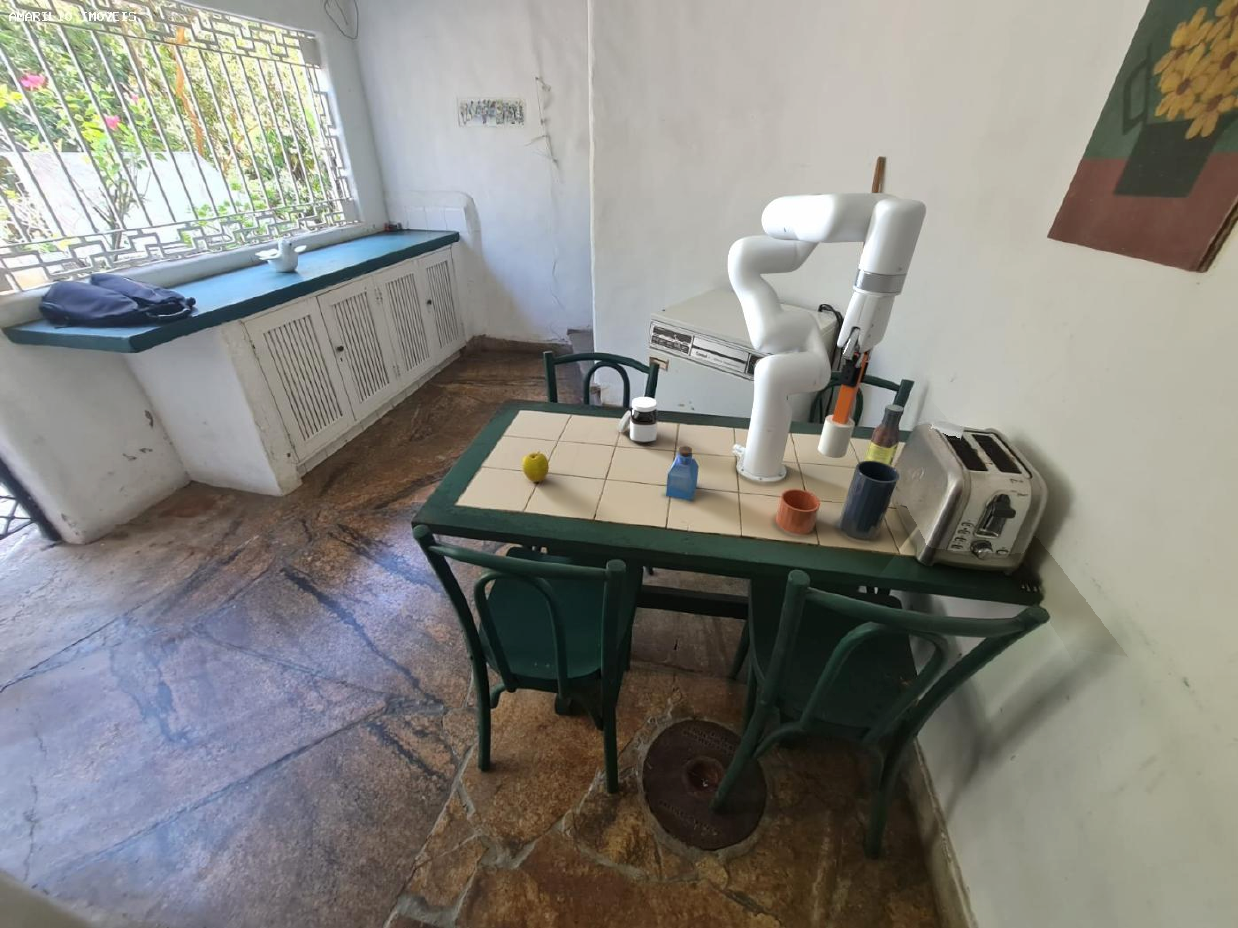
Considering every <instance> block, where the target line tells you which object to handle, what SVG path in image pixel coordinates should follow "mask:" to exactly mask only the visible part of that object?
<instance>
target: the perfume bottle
mask: <svg viewBox="0 0 1238 928" xmlns="http://www.w3.org/2000/svg"><path fill="white" fill-rule="evenodd" d="M699 468H700V465H699V464H698V462H697V460H696V459H695V458H693V448H692V447H690V446H687V445H682V446H679V448H678V452H677V456H676V458H675V459H674V461H673V463H672V464H671V467H670V468H669V471H668V473H667V477H666V490H665V496H666V497H669V498H675V499H679V500H684V501H689V502H691V501H692V500H693V497H694V495H695V492H696V490H697V485H698V478H699V477H698V476H699V470H700V469H699Z"/></svg>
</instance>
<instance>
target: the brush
mask: <svg viewBox="0 0 1238 928" xmlns="http://www.w3.org/2000/svg"><path fill="white" fill-rule="evenodd" d="M854 354H855V355H857V358H858V355H859V354H857V353H854ZM867 357H868V355H865V354H864V356H863V359H862V362H861V365H860V367H862V369H861V373H860V376H859V380H858V383H857V386H856V387H855V388H852V387H849V386H845V385H842V384H840V385H841V386H840V389H839V394H838V397H837V400H836V403H835V408H834V411H833V414H829V415H827V416H826V417H825V420H824V424H823V427H822V432H821V435H820V438H819V443H818V446H817V450H818V452H819V453H820V454H821V455H823V456H825V457H828V458H833V459H840V458H843V457H845V456H846V455H847V451H848V448H849V446H850V441H851V438H852V435H853V432H854V428H855V425H856V422H855V420H853V419H852V418H851V414H852V411H853V407H854V405H855V401H856V397H857V394H858V391H859V387H860V385H861V383H860V381H861V377H862V374H863V370H864V367H865V364H866V362H867V361H866V360H867Z"/></svg>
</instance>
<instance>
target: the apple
mask: <svg viewBox="0 0 1238 928" xmlns="http://www.w3.org/2000/svg"><path fill="white" fill-rule="evenodd" d="M521 466H522V467H521V468H522V471H523V474H524V475H525V477H526V478H527V479H528V480H530V481H531V482H532V483H540V482H542V481H543V480H545V479H546V478H547V475H548V472H549V469H550V465H549V460H548V458H547V456H546V455H545V454H543V453H541V450H539V451H538V452H531V453H529V454H527V455H524V457H523V459H522V462H521Z"/></svg>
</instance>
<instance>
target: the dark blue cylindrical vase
mask: <svg viewBox="0 0 1238 928" xmlns="http://www.w3.org/2000/svg"><path fill="white" fill-rule="evenodd" d="M899 480H900V473H899V471H898V470H897V469H895V468H894V467H893V466H892V465H891V466H889V465H887V464H884V463H882V462H877V461H864V460H862V461H859V462H858V463H857V464H856V466H855V468H854V472H853V475H852V478H851V481H850V484H849V487H848V491H847V493H846V497H845V499H844V503H843V507H842V510H841V513H840V515H839V520H838V522H837V526H838V528H839V530H840V531H841V532H842V533H843V534H844V535H846V536H847V537H848V538H851V539H854V540H857V541H863V542H869V541H873V540H875V539H876V538H877V537H878V535H879V533H880V531H881V527H882V525H883V523H884V520H885V518H886V515H887V512H888V509H889V507H890V503H891V501H892V498H893V496H894V493H895V491H896V488H897V485H898V483H899Z"/></svg>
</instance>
